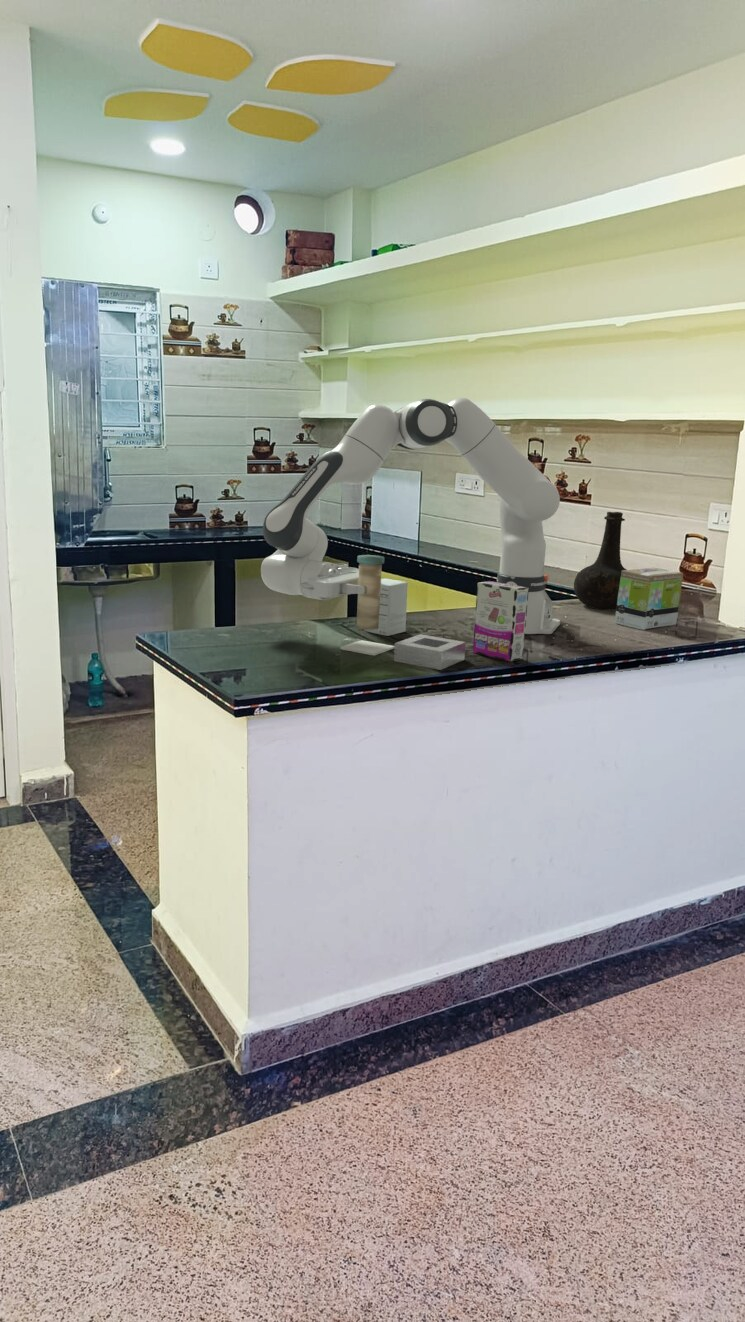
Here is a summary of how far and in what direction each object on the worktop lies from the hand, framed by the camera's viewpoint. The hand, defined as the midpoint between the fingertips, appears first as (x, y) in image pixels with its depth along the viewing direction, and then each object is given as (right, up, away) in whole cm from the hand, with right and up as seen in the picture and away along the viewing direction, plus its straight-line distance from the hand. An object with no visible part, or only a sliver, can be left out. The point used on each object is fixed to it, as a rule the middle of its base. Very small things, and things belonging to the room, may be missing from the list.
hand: (372, 588), depth 206 cm
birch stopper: (-1, -9, +3) cm, 9 cm away
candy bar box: (+28, -15, +3) cm, 32 cm away
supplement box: (+3, -9, +22) cm, 24 cm away
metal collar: (+12, -16, -4) cm, 21 cm away
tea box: (+74, -7, +44) cm, 86 cm away
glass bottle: (+68, -1, +66) cm, 95 cm away
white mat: (-1, -13, +4) cm, 14 cm away
